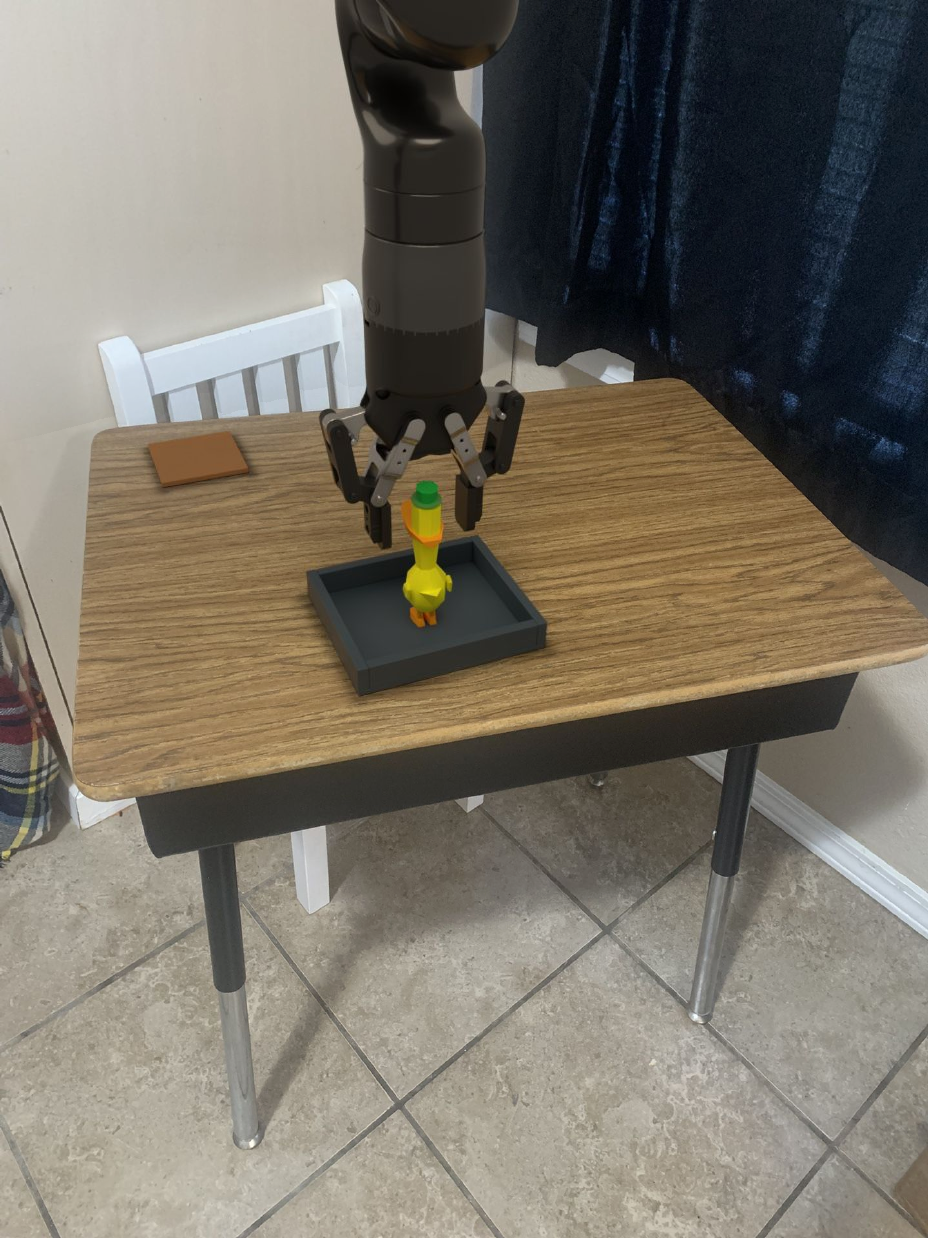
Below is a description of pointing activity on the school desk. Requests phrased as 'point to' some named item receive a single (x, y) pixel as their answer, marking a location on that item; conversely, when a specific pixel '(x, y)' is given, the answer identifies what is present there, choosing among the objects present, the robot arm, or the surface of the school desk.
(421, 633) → the tray
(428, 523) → the toy figure
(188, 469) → the coaster
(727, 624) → the school desk surface
